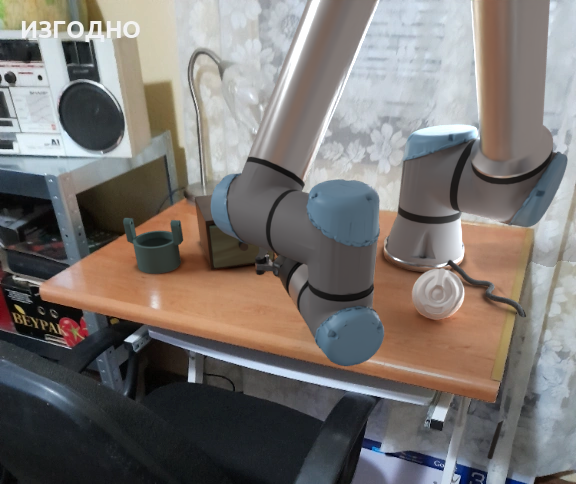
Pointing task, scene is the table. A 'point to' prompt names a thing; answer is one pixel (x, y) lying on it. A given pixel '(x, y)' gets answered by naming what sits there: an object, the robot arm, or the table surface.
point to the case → (208, 229)
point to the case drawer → (231, 249)
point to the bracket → (156, 247)
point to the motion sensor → (438, 294)
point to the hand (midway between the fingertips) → (270, 219)
